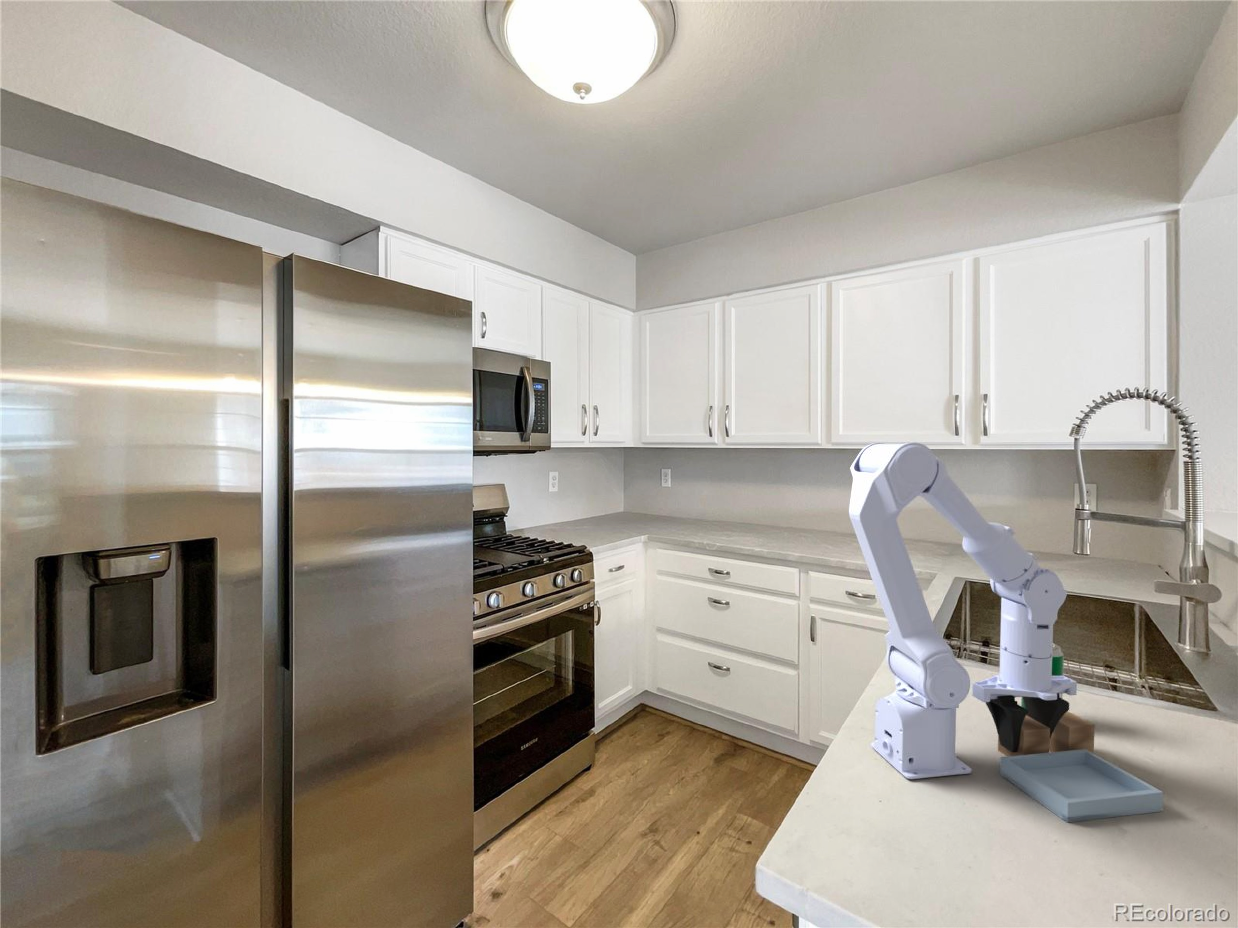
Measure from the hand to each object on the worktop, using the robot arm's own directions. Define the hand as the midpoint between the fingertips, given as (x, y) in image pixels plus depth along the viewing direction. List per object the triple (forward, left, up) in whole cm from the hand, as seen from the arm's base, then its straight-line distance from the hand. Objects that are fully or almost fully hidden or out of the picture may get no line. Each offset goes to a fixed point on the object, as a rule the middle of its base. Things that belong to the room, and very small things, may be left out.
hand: (1023, 746), depth 74 cm
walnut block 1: (0, 0, -1) cm, 1 cm away
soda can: (+12, +8, -2) cm, 15 cm away
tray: (0, -8, -1) cm, 8 cm away
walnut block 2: (+7, 0, -2) cm, 7 cm away
